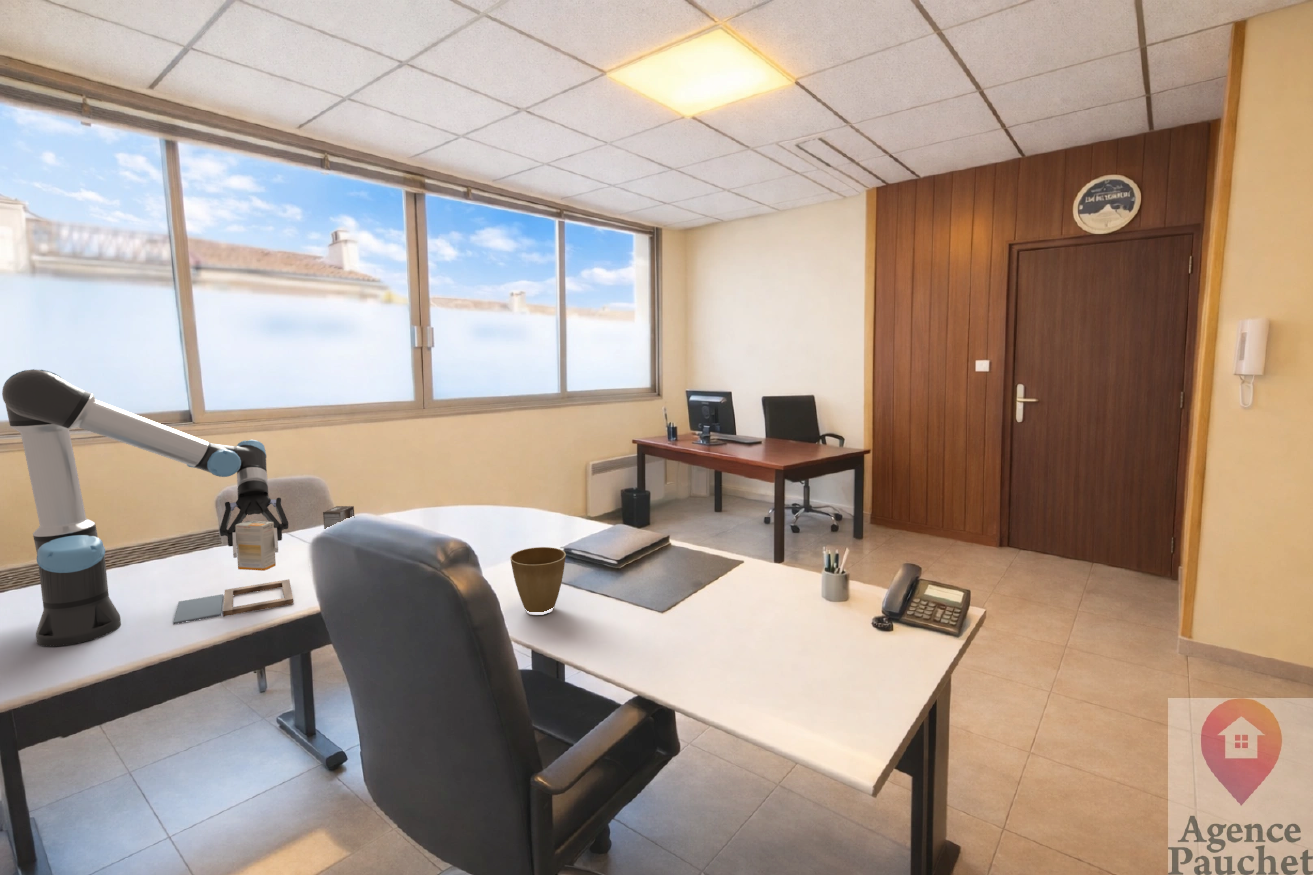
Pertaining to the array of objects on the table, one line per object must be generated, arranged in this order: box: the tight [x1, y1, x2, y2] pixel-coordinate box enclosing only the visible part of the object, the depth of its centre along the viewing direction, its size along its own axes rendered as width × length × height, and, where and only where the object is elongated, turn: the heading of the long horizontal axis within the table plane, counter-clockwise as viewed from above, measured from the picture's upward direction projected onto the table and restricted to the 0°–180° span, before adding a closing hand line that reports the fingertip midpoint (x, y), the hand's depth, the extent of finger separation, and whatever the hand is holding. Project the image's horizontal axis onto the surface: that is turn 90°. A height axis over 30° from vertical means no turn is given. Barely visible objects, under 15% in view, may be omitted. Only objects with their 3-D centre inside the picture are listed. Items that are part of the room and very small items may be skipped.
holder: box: [222, 578, 294, 617], centre depth 171 cm, size 16×18×2 cm
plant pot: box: [509, 546, 567, 612], centre depth 165 cm, size 15×15×16 cm
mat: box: [172, 593, 224, 625], centre depth 163 cm, size 10×16×1 cm, turn 34°
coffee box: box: [322, 505, 355, 529], centre depth 212 cm, size 9×6×16 cm
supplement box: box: [235, 520, 277, 571], centre depth 169 cm, size 8×5×13 cm, turn 84°
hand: (256, 552), depth 167 cm, fingers closed on supplement box, 9 cm apart
